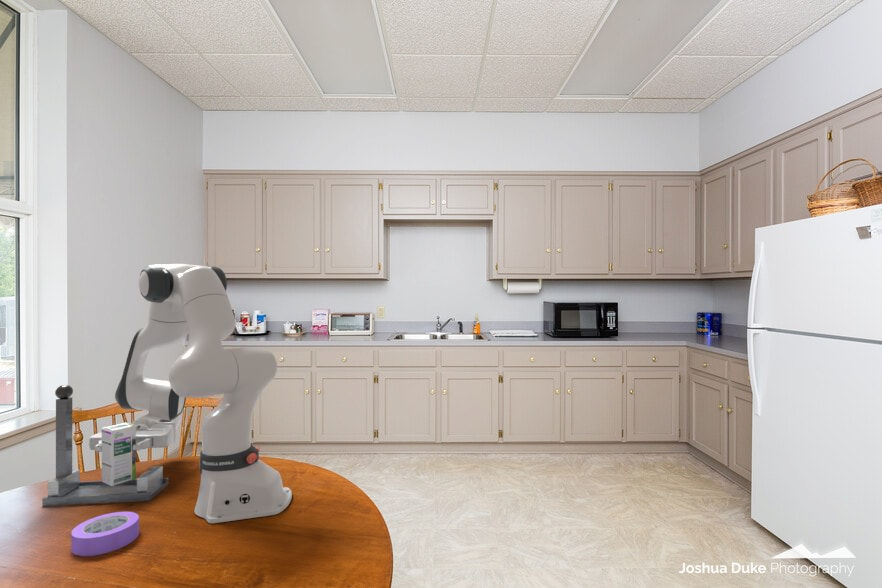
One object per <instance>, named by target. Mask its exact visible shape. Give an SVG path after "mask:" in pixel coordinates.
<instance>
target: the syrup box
mask: <svg viewBox="0 0 882 588" xmlns="http://www.w3.org/2000/svg"><path fill="white" fill-rule="evenodd" d="M131 423H132V422H130V423H129V422H122V423H119V424H118V423H117V424H115V425H109V426H103V427H101V432H102V452H101V481H102V482H104V483H106V484H108V485H110V486H115V485H117V484H120V483H124V482H127V481H130V480H134V479H137V477H136V476H137V474H136V473H137V472H136V471H137V467H136V466H137V465H136V464H137V463H136V462H137V461H136V460H137V459H136V457H137V456H136V455H137V454H136V451H133V444H135V443H136V426H135V425H133V424H131Z"/></svg>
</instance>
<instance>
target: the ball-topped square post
mask: <svg viewBox="0 0 882 588" xmlns="http://www.w3.org/2000/svg"><path fill="white" fill-rule="evenodd" d="M54 392H55V393H54V394H55V396H56V398H57V399H55V477H54V478H52V479H50V480H48V481H47V497H62V496H64V495H65V494H67V493H69V492H70V491H72V490H73V489H75V488H77V487H78V486H80V482H81V481H80V476H81V475H80V471H81V470H80V469H79V468H78V469H73V397H71V396H72V395H73V394H74V393H73V392H74V389H73V387H72V386H71V385H68V384H63V385H62V384H61V385H60V386H59V387H57V388H56V389H55V391H54Z"/></svg>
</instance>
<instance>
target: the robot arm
mask: <svg viewBox="0 0 882 588" xmlns="http://www.w3.org/2000/svg"><path fill="white" fill-rule="evenodd" d="M227 281H228V280H227V275H226V274H225V272H224V271H223V269H222V268H220V267H217V266H213V265H199V264H187V263H167V264H160V263H157V264H149V265H147V266H145V267H144V268H143V269H142V270H141V272H140V275H139V278H138V287H139V291H140V295H141V297H143V299H145V300H146V301H147V302H150V303H149V310H148V318H147V322H146V324H145V326H144V327H143V328H140V329H138V330H137V331H136V333H135V334H134V336H133V338H132V341H131V344H130V346H129V350H128V354H127V357H126V359H125V360H126V362H125V364H124V367H123V368H124V369H123V371H122V376H121V379H120V380H119V383H118V385H117V388H116V391H115V394H114V398H115V401H116V403H117V404H118V405H119V407H120V408H121V409H123V410H136V411H137V410H140V411H145V412H148V413H147V414H145V415H143V416H140V417H139V418H137V419H136V420H133V421H131V422H130V423H131V424H133V425H135V426H136V443H135V444H133V451H137V452H138V451H141V450H146V449H154V448H155V449H157V448H168V447H169V446H171V445H173V444H174V443H176V438H177V428H178V426H179V424H181V420H182V413H183V411H184V409H185V406H186V401H187V398H190V399H191V398H192V399H193V398H194V399H201V398H202V399H203V398H209V397H215V396H219V395H223V396H222V398H221V400H220V402H219V403H218V405H217V406H216V407H214V409H212V410H210V411H209V412H208V413H207V414H206V415H205V416H204V418H203V421H202V425H201V450H200V453H199V461H198V462H199V463H198V464H199V474H200V483H199V484H200V485H199V490H198V494H197V495H198V496H197V499H196V500H197V501H196V503H195V507H194V512H193V513H194V514H195V515H197V516H198V517H200V518H202V519H205V520H206V522H207V523H209V524H218V523H219V524H220V523H224V522H225V523H226V522H231V521H232V522H233V521H238V520H239V521H240V520H246V519H252V518H262V517H268V516H275V515H278V514H280V513H282V512H283V511H284V510H285V509H286V508H287V507H288V506H289V504H290V503H291V501H292V498H293V494H292V493H293V492H292V489H291V488H289V487H287V486H284V485H283V480H282V476H281V474H280V472H279V471H278V470H276V469H274V468H273V467H272V466H270V465H268V464H266V463H265V462H263V461H262V460H260V459H259V458H260V448H261V447H260V446H258V447H255V446H254V445H252V444H251V439H252V421H253V420H252V419H253V415H254V413H253V412H254V409H255V407H256V404H257V401H258V400H259V397H260V396H261V394H262V393H263V391H264V390H265V388H266V387H268V385H269V384H270V383H271V382H272V381H273V380H274V378H275V376H276V374H277V372H278V371H277V370H278V362H277V359H276V357H275V355H274V353H273V352H272V351H271V350H270V349H268V348H263V347H258V346H257V347H255V346H247V347H246V346H245V347H233V348H224V346H223V344H222V342H223V341H224V340H226V339H227V338H229V337H231V335H233V332H234V331H235V328H236V325H237V321H236V317H235V315H234V311H233V308H232V306H231V305H232V304H231V303H230V299H229V297H228V294H227V287H228V282H227ZM187 335H188V336H187ZM186 337H188V341H187V342H188V343H187V346H186V347H185V349H184V351H183V352H182V354H180V356H178V357H177V358H176V359H175V360H174V361H173V363H172V364H171V367H170V368H169V373H168V380H165V379H157V378H148V377H146V376H145V375H143V371H144V367H145V365H146V360H147V357H148V354H149V352H150V351H151V350H157V349H161V348H167V347H170V346H174V345H176V344H178V343H180V342H181V341H183V340H184V339H185V338H186ZM88 448H89V450H92V451H94V452H95V453H102V431H100V432H97V433H95V434H93V435H91V436H89V438H88Z"/></svg>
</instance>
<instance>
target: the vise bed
mask: <svg viewBox="0 0 882 588" xmlns="http://www.w3.org/2000/svg"><path fill="white" fill-rule="evenodd" d="M163 467H164V466H163V465H155V466H154V465H152V466H151V467H150V468H149V469H147V470H146V471H144V472H143V473H142V474H140V475H139V476H137V477H136V478H135V479H134V480H130V481H127V482H124V483H120V484H117V485H115V486H110V485H108V484H106V483H104V482H102V480H87V481H80V486H78V487H77V488H75V489H73V490H72V491H70V492H69V493H67V494H65V495H64V496H62V497H48V496H47V497H43V498H42V499H41V500H42V507H56V506H57V507H58V505H61V506H77V505H76V504H81V505H96V503H101V504H118V503H119V502H120V503H136V502H138V501H140V502H150V501H151V500H153V499H154V498H155V497H156V496H157V495H159V494H160V493H161V492H162V491H163V490H164V489H165V488H166V487H168V486H169V477H163V476H164V473H163V472H164V471H163V469H164V468H163ZM153 497H154V498H153ZM94 503H95V504H94Z"/></svg>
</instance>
